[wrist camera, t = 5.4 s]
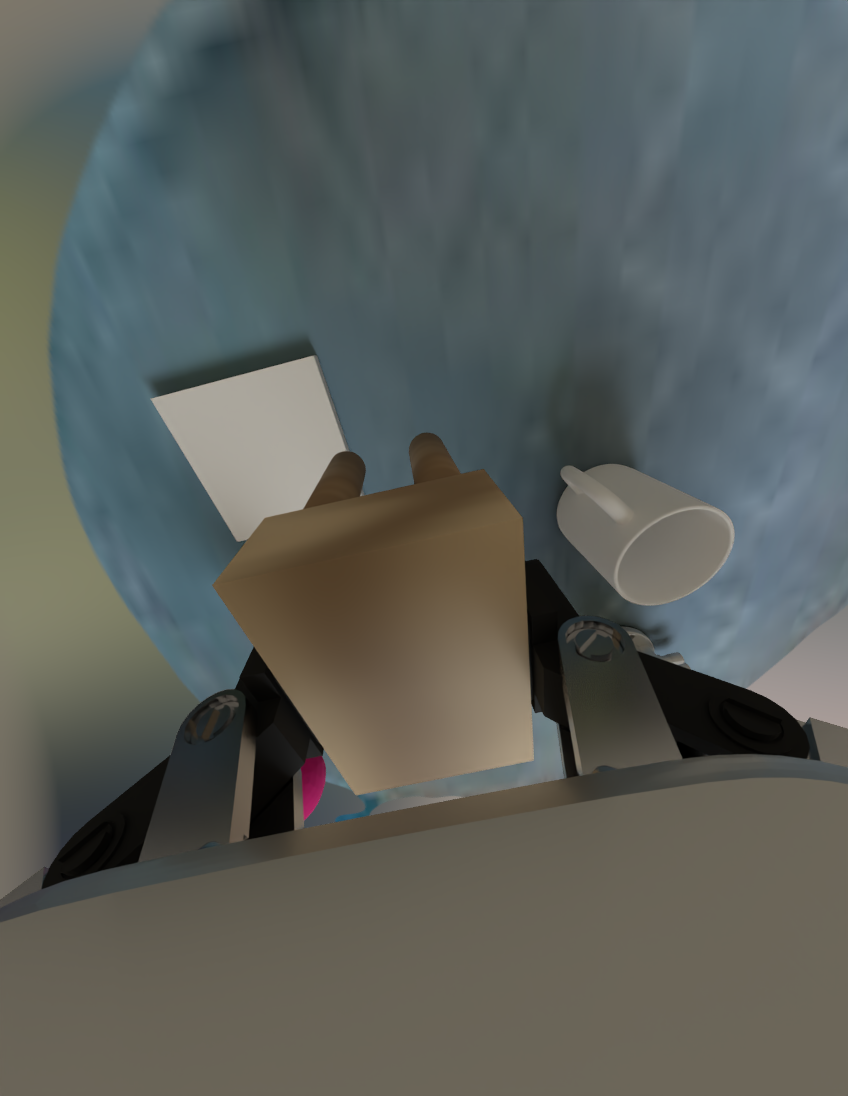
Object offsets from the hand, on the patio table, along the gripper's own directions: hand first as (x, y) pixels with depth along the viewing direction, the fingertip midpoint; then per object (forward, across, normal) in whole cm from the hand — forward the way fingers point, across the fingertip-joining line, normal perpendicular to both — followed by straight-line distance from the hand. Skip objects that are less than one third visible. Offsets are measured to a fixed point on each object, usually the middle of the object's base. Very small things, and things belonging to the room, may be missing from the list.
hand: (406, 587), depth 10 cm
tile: (+20, +10, -1) cm, 22 cm away
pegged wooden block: (+5, 0, 0) cm, 5 cm away
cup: (+20, -16, +8) cm, 27 cm away
